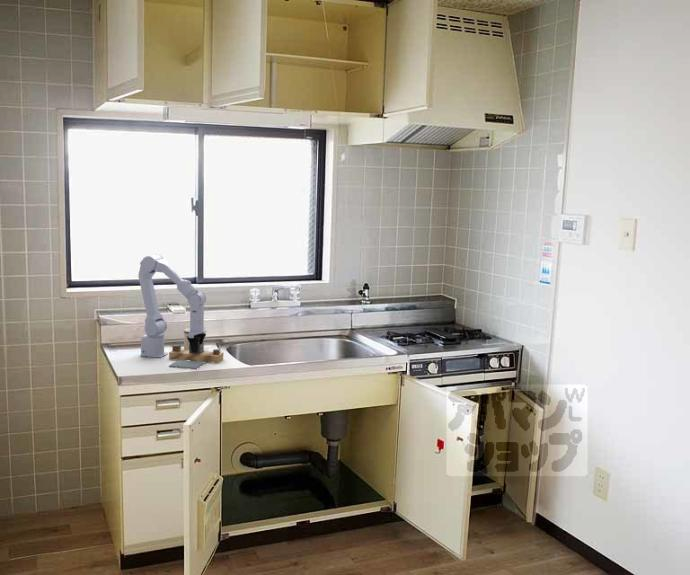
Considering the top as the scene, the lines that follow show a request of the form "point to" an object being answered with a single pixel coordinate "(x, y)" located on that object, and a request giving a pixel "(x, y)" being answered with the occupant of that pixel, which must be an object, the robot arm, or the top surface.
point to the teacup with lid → (186, 342)
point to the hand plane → (195, 355)
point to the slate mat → (187, 364)
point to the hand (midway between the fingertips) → (196, 351)
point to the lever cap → (200, 348)
